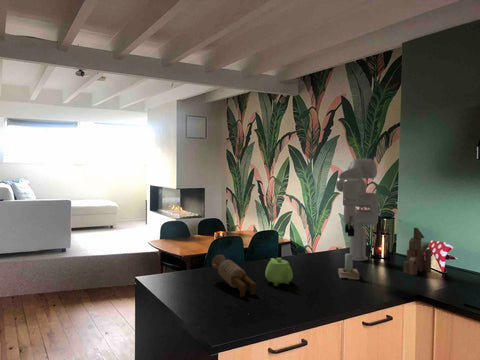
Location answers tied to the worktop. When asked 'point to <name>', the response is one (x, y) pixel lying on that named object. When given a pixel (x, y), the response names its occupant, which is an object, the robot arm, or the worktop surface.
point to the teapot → (278, 271)
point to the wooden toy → (417, 256)
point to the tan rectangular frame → (348, 274)
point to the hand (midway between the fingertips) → (349, 234)
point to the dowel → (348, 262)
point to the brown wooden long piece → (233, 275)
